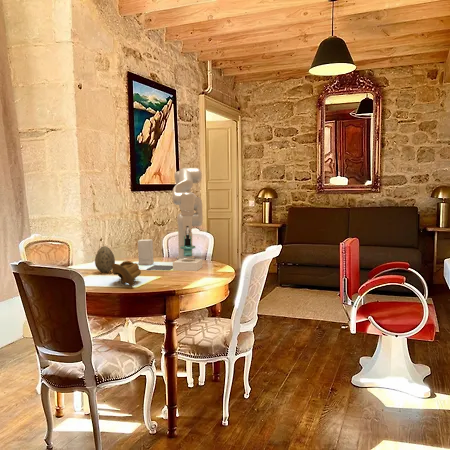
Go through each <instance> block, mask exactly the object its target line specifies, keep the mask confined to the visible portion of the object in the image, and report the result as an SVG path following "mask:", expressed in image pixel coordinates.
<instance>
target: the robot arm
mask: <svg viewBox="0 0 450 450" xmlns="http://www.w3.org/2000/svg"><path fill="white" fill-rule="evenodd" d="M202 176H203V174H202V171H201V169H200V168H199V167H183V168H181V169H179V170H178V171H176V172H175V173H174V181H175V185H174V187H173V188H172V193H171V195H172V196H171V197H172V203H173V204H174V205H175V206H178V208H179V210H180V212H179V213H177V216H176V224H177V233H178V237H177V238H178V239H177V240H178V243H177V244H178V248H177V249H178V250H177V251H178V255H177V256H176V258H175V259H176V260H178V259H196V257H195V255H192V256H189V257H186V256H184V249H181V248H180V246H184V236H185V246H190V236H191V242H192V243H193V232H192V230H193V229H192V228H193V227H201V226H202V224H203V217H204V216H203V201H202V200H203V199H202V198H201V197H199V196H197V195H196V194H195V193H194V192H192V188H193V186H194V184H200V183H201V180H202V179H203V178H202Z"/></svg>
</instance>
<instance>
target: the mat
mask: <svg viewBox="0 0 450 450" xmlns="http://www.w3.org/2000/svg"><path fill="white" fill-rule="evenodd" d="M153 270H154V271H171V270H173V265H163V264H162V265H161V264H159V265H158V264H157V265H156V264H155V265H151V266H150V267H148V268H146V271H153Z"/></svg>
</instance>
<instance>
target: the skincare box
mask: <svg viewBox="0 0 450 450" xmlns="http://www.w3.org/2000/svg"><path fill="white" fill-rule="evenodd" d="M137 252H138V257H137V258H138V266H153V264H154V242H153V239H150V238H149V239H139V240H137Z"/></svg>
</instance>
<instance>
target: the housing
mask: <svg viewBox="0 0 450 450" xmlns="http://www.w3.org/2000/svg"><path fill="white" fill-rule="evenodd" d="M172 266H173V269H172V271H179V272H180V271H182V272H198V271H199V270H200V269H202V268H203V258H202V259H201V258H200V259H199V258H194V259H176V260H175V261H173V262H172Z"/></svg>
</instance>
